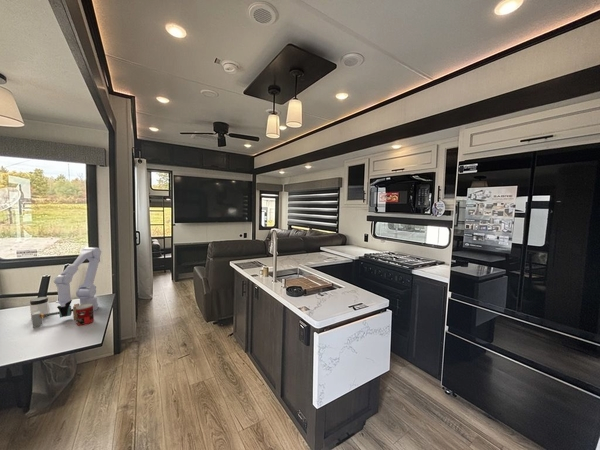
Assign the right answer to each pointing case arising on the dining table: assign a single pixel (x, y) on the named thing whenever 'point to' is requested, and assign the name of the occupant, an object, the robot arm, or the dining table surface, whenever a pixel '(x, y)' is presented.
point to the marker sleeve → (68, 312)
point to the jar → (39, 305)
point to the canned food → (84, 314)
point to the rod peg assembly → (38, 316)
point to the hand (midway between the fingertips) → (65, 313)
